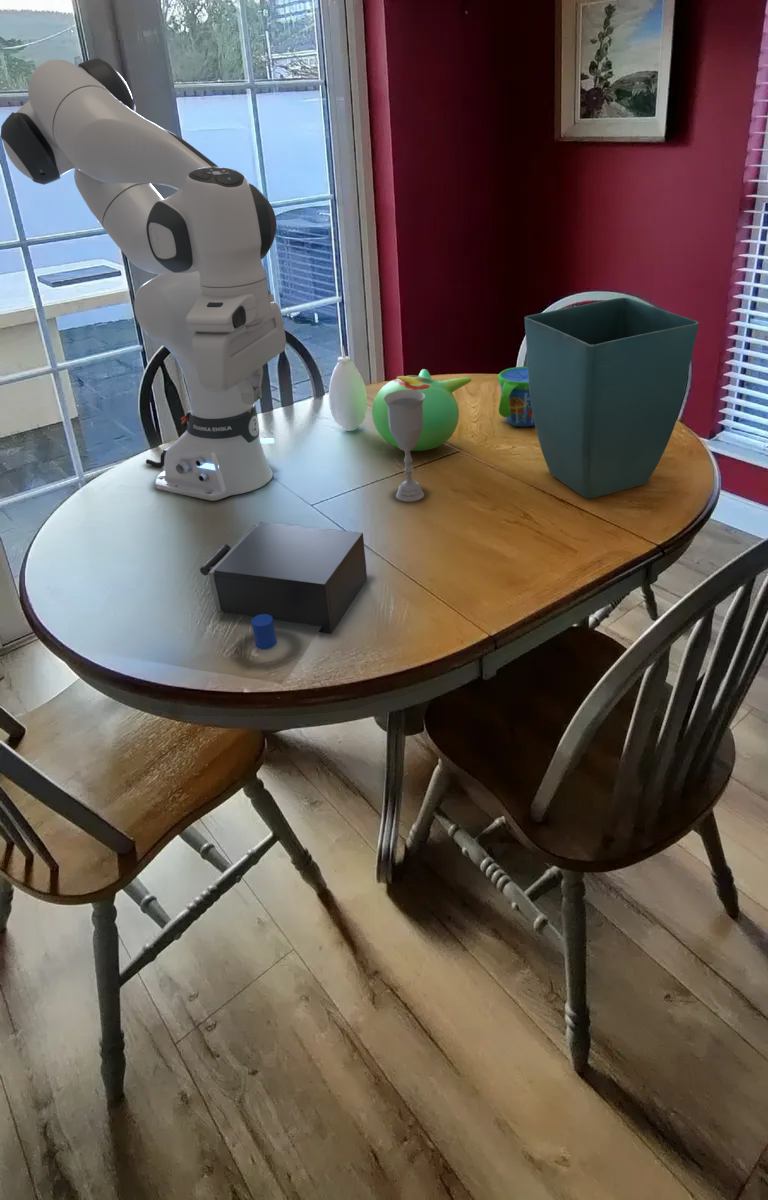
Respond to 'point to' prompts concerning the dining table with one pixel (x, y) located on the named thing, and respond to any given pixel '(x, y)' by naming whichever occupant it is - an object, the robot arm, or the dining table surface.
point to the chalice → (406, 434)
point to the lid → (264, 631)
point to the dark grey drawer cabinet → (293, 574)
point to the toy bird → (423, 408)
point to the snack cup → (515, 397)
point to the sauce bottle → (347, 394)
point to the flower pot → (606, 390)
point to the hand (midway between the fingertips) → (252, 401)
